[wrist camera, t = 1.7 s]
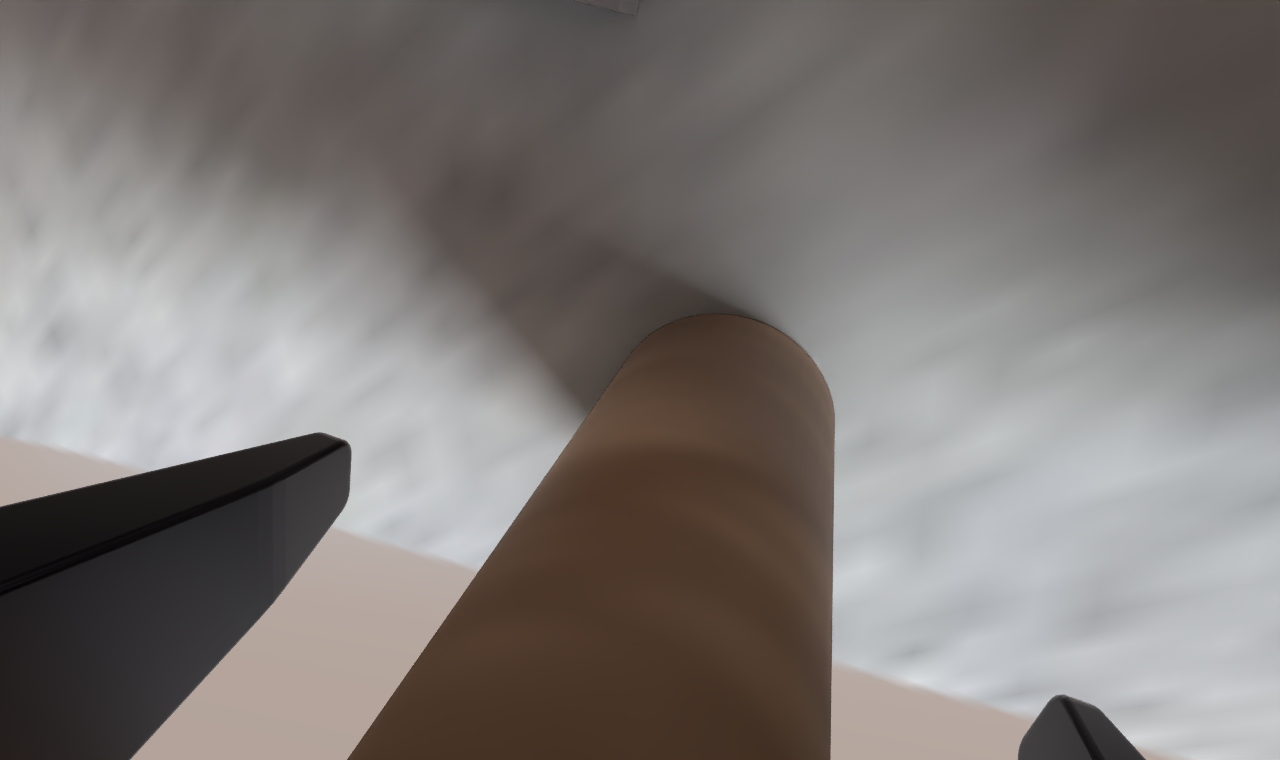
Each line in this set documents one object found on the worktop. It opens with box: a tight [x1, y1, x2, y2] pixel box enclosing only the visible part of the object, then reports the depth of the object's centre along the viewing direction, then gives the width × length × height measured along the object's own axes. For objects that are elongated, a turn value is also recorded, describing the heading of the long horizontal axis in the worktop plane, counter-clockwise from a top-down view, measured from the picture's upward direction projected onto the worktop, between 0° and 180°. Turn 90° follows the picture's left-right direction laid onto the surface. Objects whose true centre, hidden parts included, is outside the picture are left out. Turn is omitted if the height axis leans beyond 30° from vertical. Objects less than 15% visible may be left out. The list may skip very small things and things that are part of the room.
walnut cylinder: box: [347, 314, 835, 760], centre depth 9 cm, size 4×4×9 cm
